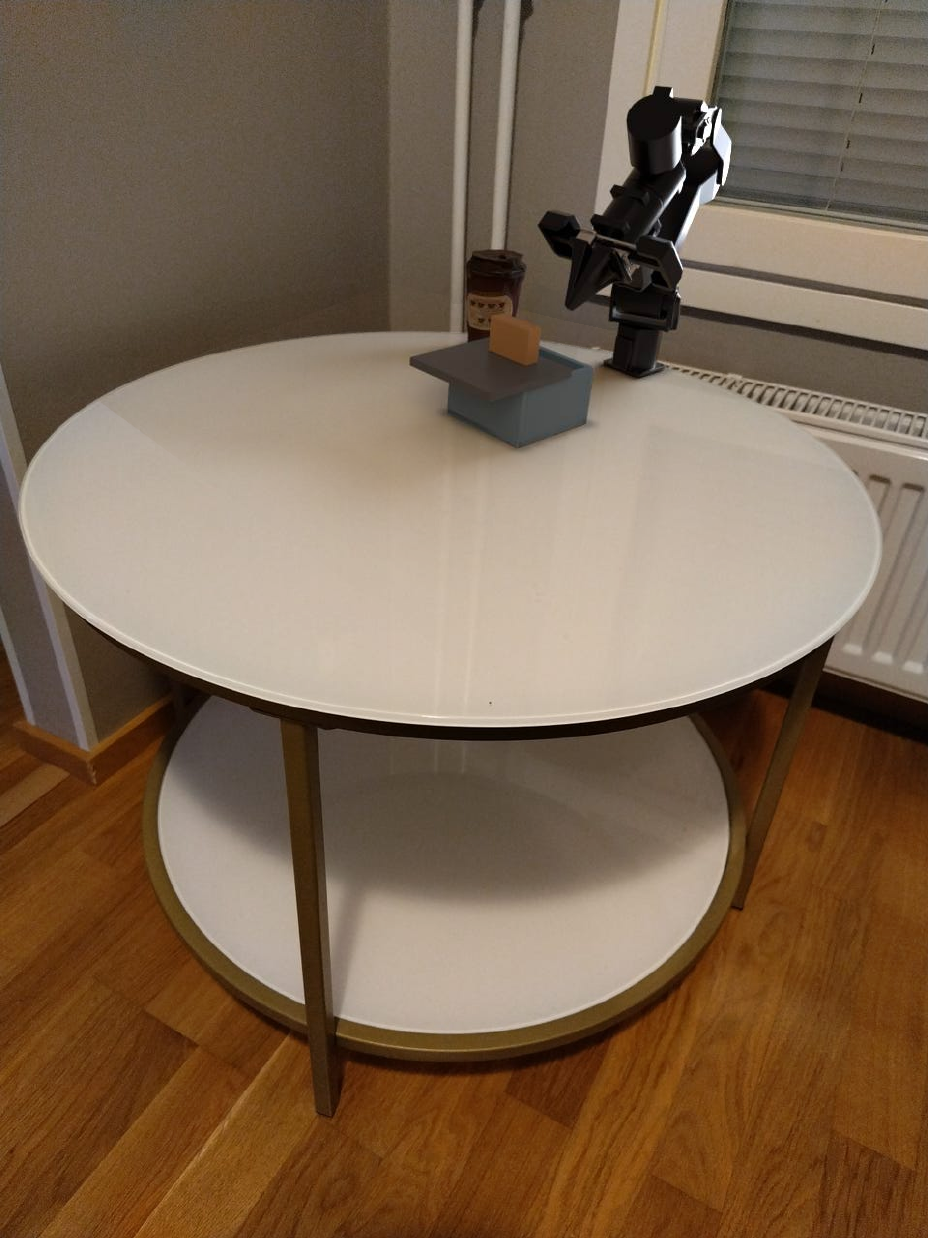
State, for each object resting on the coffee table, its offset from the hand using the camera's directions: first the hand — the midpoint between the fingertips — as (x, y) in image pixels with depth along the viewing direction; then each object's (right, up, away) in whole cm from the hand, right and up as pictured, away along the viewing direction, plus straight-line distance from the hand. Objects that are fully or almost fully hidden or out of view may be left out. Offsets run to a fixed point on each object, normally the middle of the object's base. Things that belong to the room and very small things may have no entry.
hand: (568, 308), depth 102 cm
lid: (-9, -9, -4) cm, 14 cm away
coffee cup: (-9, +2, +23) cm, 24 cm away
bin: (-6, -12, +3) cm, 14 cm away
